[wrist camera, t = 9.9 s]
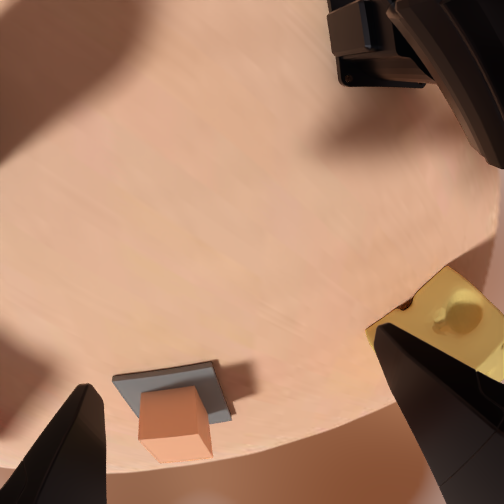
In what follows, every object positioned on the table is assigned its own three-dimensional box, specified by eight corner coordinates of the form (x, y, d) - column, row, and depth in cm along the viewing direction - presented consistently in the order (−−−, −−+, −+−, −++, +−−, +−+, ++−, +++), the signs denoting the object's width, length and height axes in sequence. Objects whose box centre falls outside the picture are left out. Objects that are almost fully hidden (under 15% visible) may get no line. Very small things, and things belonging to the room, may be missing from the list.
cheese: (360, 330, 27) (413, 417, 18) (450, 256, 25) (523, 322, 16) (393, 372, 32) (433, 440, 23) (465, 314, 30) (516, 371, 21)
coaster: (211, 361, 25) (211, 367, 25) (231, 415, 30) (231, 420, 29) (112, 376, 24) (112, 381, 24) (149, 426, 29) (148, 431, 28)
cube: (194, 385, 25) (198, 433, 21) (207, 414, 28) (213, 457, 24) (140, 392, 25) (138, 439, 21) (159, 420, 27) (160, 463, 23)
